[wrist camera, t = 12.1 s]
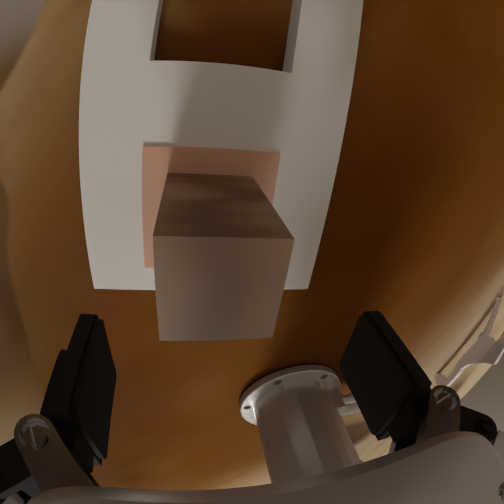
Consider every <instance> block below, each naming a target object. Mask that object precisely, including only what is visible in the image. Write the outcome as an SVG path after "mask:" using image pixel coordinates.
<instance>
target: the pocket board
mask: <svg viewBox="0 0 504 504" xmlns="http://www.w3.org/2000/svg"><path fill="white" fill-rule="evenodd" d="M162 5H163V0H92V4H91V9H90V14H89V20H88V26H87V32H86V39H85V46H84V54H83V63H82V74H81V87H80V105H79V165H80V184H81V197H82V209H83V218H84V227H85V235H86V243H87V250H88V256H89V262H90V268H91V274H92V279H93V285H94V288H95V289H128V290H155V276H154V256H153V233H154V228H155V223H156V219H157V214H158V210H159V206H160V201H161V197H162V193H163V189H164V185H165V181H166V177H167V173H189V174H214V175H233V176H249V177H253V178H254V179H255V181H256V182H257V184H258V185H259V187H260V188H261V190H262V191H263V193H264V194H265V195H266V197H267V198H268V200H269V201H270V203H271V204H272V206H273V207H274V209H275V210H276V212H277V213H278V215H279V216H280V218H281V219H282V221H283V222H284V224H285V225H286V227H287V228H288V230H289V231H290V233H291V234H292V236H293V237H294V239H295V240H294V245H293V249H292V254H291V259H290V263H289V268H288V273H287V277H286V282H285V286H284V290H287V289H308V286H309V282H310V279H311V275H312V271H313V267H314V263H315V260H316V256H317V252H318V248H319V244H320V240H321V236H322V232H323V228H324V224H325V220H326V215H327V211H328V207H329V202H330V198H331V194H332V189H333V185H334V180H335V175H336V171H337V166H338V161H339V156H340V151H341V146H342V141H343V136H344V130H345V125H346V120H347V114H348V108H349V102H350V97H351V90H352V84H353V78H354V71H355V65H356V58H357V50H358V43H359V35H360V27H361V18H362V9H363V0H293V1H292V8H291V15H290V22H289V29H288V36H287V43H286V50H285V57H284V64H283V70H282V71H277V70H271V69H264V68H257V67H250V66H242V65H233V64H223V63H211V62H195V61H154V58H155V50H156V43H157V36H158V29H159V23H160V17H161V11H162Z"/></svg>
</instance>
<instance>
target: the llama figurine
mask: <svg viewBox="0 0 504 504" xmlns="http://www.w3.org/2000/svg"><path fill="white" fill-rule="evenodd" d="M495 300H496V303H495V305H494V308H493V311H492V313H491V316H490V319H489V321H488V323H487V325H486V327H485V330H484V331H483V332H482V333H480V335H479V336H478V340H477V341H476V342H475V343H474V345H473V346H472V347H471V348H470V349H469V350H468V351H467V352H466V353H465V354H464V355H463V356H462V358H461V359H460V360H459V361H458V363H457V364H456V366H455V368H454V369H453V371H452V373H451V374H450V375H449V376H448V378H447V379H446V376H445V375H442V374H441V373H436V374H435V378H436V383H437V385H445V386H448V387H449V386H450V385H451V384H452V383H453V382H454V381H455V380H456V379H457V378H458V376H459V375H460V374H461V373H462V372H463V369H464V368H466V367H467V366H469V365H471V364H478V363H489V364H497V362H498V361H499V359H500V357H501V356H502V354H503V352H504V332H503V334H502V335H501V337H500V338H499V339H498V340H497V341H495V339H494V338H492V337H489V334H490V332H491V329H492V326H493V323H494V320H495V318H496V315H497V312H498V309H499V306H500V303H501V300H502V297H501V298H499V296H498V297H496V299H495Z"/></svg>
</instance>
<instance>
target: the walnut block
mask: <svg viewBox="0 0 504 504" xmlns="http://www.w3.org/2000/svg"><path fill="white" fill-rule="evenodd" d="M294 240H295V239H294V237H293V236H292V234H291V233H290V231H289V230H288V228H287V227H286V225H285V224H284V222H283V221H282V219H281V218H280V216H279V215H278V213H277V212H276V210H275V209H274V207H273V206H272V204H271V203H270V201H269V200H268V198H267V197H266V195H265V194H264V193H263V191H262V190H261V188H260V187H259V185H258V184H257V182H256V181H255V179H254V178H253V177H249V176H233V175H214V174H189V173H167V177H166V181H165V185H164V189H163V193H162V197H161V201H160V206H159V210H158V214H157V219H156V223H155V228H154V233H153V256H154V276H155V291H156V305H157V316H158V327H159V337H160V341H205V340H239V339H260V338H272V337H273V333H274V329H275V325H276V321H277V317H278V312H279V308H280V304H281V299H282V295H283V290H284V286H285V282H286V277H287V273H288V268H289V263H290V259H291V254H292V249H293V245H294Z"/></svg>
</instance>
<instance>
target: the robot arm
mask: <svg viewBox="0 0 504 504" xmlns="http://www.w3.org/2000/svg"><path fill="white" fill-rule="evenodd" d="M340 370H341V373H342V375H343V377H344V379H345V381H346V383H347V385H348V387H349V389H350V391H351V393H349V394H347V395H343V394H340V392H339V390H340V380H339V378H338V376H337V374H336V373H335V371H333V370H332V369H331V368H328V367H326V366H321V365H300V366H294V367H290V368H285V369H282V370H279V371H276V372H274V373H272V374H269V375H267V376H265V377H263V378H262V379H260V380H258V381H256V382H255V383H254V384H252V385H251V386H250V387H249V388H248V389H247V390H246V391H245V392H244V393H243V395H242V396H241V398H240V402H239V408H240V412H241V415H242V417H243V418H244V419H245V420H247V421H248V422H250V423H253V424H255V425H257V428H258V432H259V436H260V440H261V444H262V448H263V452H264V456H265V460H266V464H267V468H268V472H269V475H270V479H271V483H272V484H266V485H258V486H250V487H241V488H230V489H215V490H142V489H128V488H112V487H100V485H99V484H98V483H97V481H96V480H95V479H94V477H93V476H92V475H91V473H92V472H93V465H99V466H101V465H102V459H106V457H107V450H108V439H109V430H110V421H111V413H112V405H113V398H114V391H115V384H116V369H115V366H114V362H113V359H112V355H111V351H110V347H109V343H108V339H107V335H106V331H105V327H104V322H103V320H102V319H98V316H97V315H94V314H81V315H80V316H79V319H78V322H77V324H76V327H75V329H74V332H73V335H72V338H71V340H70V343H69V346H68V349H67V350H61V351H60V353H59V355H58V357H57V360H56V363H55V366H54V369H53V372H52V375H51V378H50V381H49V384H48V387H47V390H46V394H45V397H44V401H43V404H42V408H41V411H40V414H29V415H25V416H24V417H22V418H21V419H20V420H19V421H18V422H17V424H16V426H15V429H14V439H12V440H10V441H9V442H7V443H5V444H3V445H2V446H0V504H504V433H503V432H502V431H501V430H499V431H497V427H496V424H495V422H494V421H493V420H492V419H491V418H490V417H489V416H487V415H485V414H482V413H480V412H477V411H474V410H472V409H469V408H466V407H464V406H461V403H460V398H459V396H458V394H457V393H456V392H455V391H454V390H453V389H452V388H450V387H448V386H445V385H437V386H435V387H434V388H433V389H432V390H431V388H430V386H431V384H432V383H431V381H430V380H429V378H428V377H427V375H426V374H425V372H424V371H423V370H422V368H421V367H420V365H419V364H418V363H417V361H416V360H415V358H414V357H413V356H412V354H411V353H410V351H409V350H408V349H407V347H406V346H405V345H404V343H403V342H402V340H401V339H400V338H399V336H398V335H397V334H396V332H395V331H394V330H393V328H392V327H391V326H390V324H389V323H388V322H387V320H386V319H385V318H384V316H383V315H382V314H381V313H380V312H379V311H366V312H364V313H363V314H362V316H360V317H359V319H358V321H357V324H356V326H355V329H354V331H353V334H352V336H351V338H350V341H349V343H348V346H347V348H346V350H345V352H344V355H343V357H342V359H341V362H340ZM358 412H361V413H362V415H363V417H364V419H365V421H366V423H367V425H368V427H369V429H370V431H371V433H372V434H373V435H375V436H376V438H377V440H378V441H379V440H382V439H385V438H388V437H389V436H391V438H392V443H391V447H390V450H389V454H387V455H385V456H382V457H379V458H376V459H373V460H370V461H367V462H364V463H361V461H360V459H359V456H358V454H357V452H356V449H355V447H354V445H353V442H352V440H351V438H350V435H349V433H348V431H347V429H346V426H345V424H344V422H343V419H342V416H344V415H350V414H354V413H358Z"/></svg>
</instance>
